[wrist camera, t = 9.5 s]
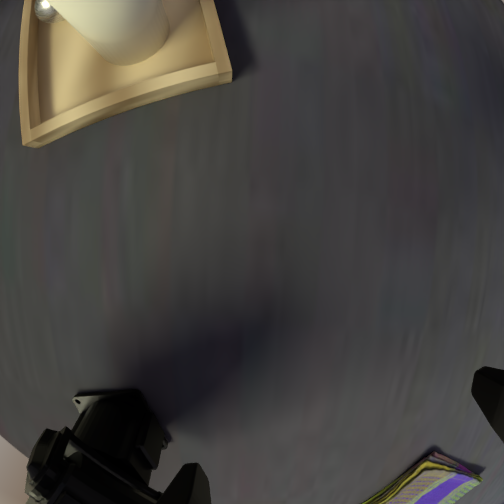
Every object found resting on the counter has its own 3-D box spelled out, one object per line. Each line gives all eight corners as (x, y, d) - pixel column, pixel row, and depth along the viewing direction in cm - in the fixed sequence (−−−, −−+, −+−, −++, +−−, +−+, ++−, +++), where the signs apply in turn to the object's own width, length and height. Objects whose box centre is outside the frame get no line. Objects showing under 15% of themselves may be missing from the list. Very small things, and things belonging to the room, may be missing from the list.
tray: (38, 148, 17) (22, 145, 15) (35, 5, 14) (25, -5, 12) (231, 82, 17) (232, 70, 15) (195, -54, 14) (193, -69, 13)
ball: (47, 38, 15) (24, 20, 11) (48, 6, 14) (28, -13, 10) (88, 17, 15) (69, -5, 11) (88, -13, 14) (71, -36, 11)
